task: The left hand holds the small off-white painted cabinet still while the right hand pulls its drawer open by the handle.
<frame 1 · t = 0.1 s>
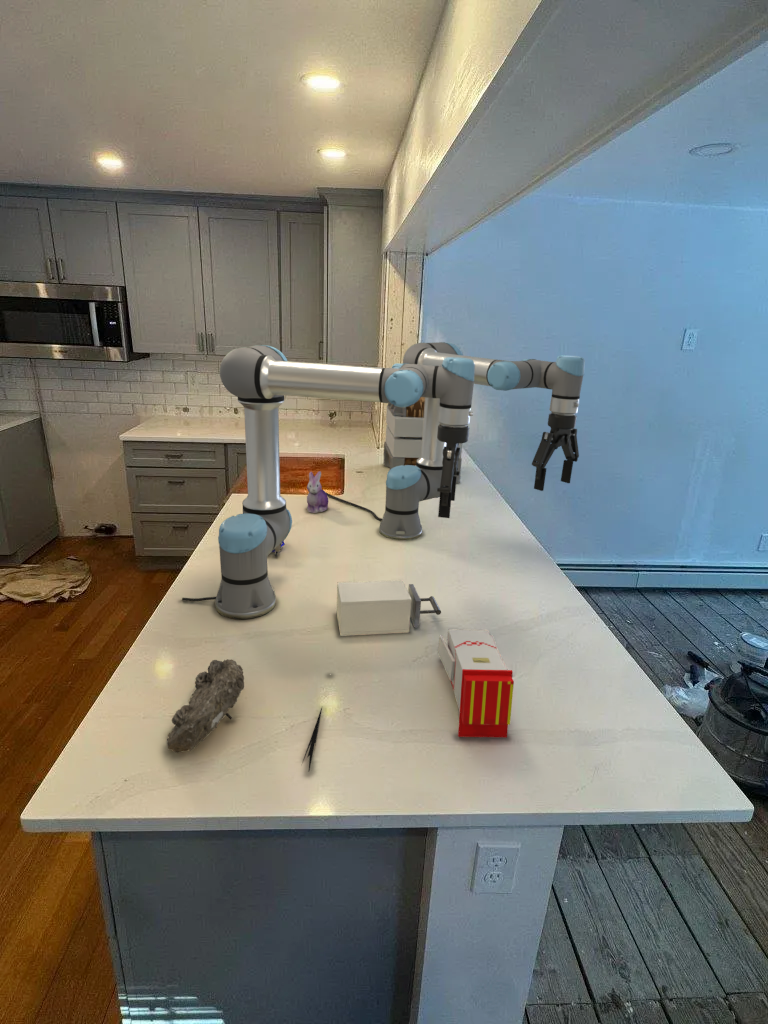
left hand: (446, 508, 143), 28 cm above the counter, tool pointing down, fingers open, 13 cm apart
right hand: (552, 485, 166), 28 cm above the counter, tool pointing down, fingers open, 13 cm apart
figurine character: (274, 549, 182), on the counter
toy: (469, 691, 119), on the counter
fossil: (212, 717, 108), on the counter
figurine: (317, 509, 220), on the counter
cabinet: (372, 623, 143), on the counter
transformer: (419, 473, 275), on the counter
feather: (319, 719, 109), on the counter
drawer: (396, 606, 142), point 5 cm above the counter, slide at 1.4 cm
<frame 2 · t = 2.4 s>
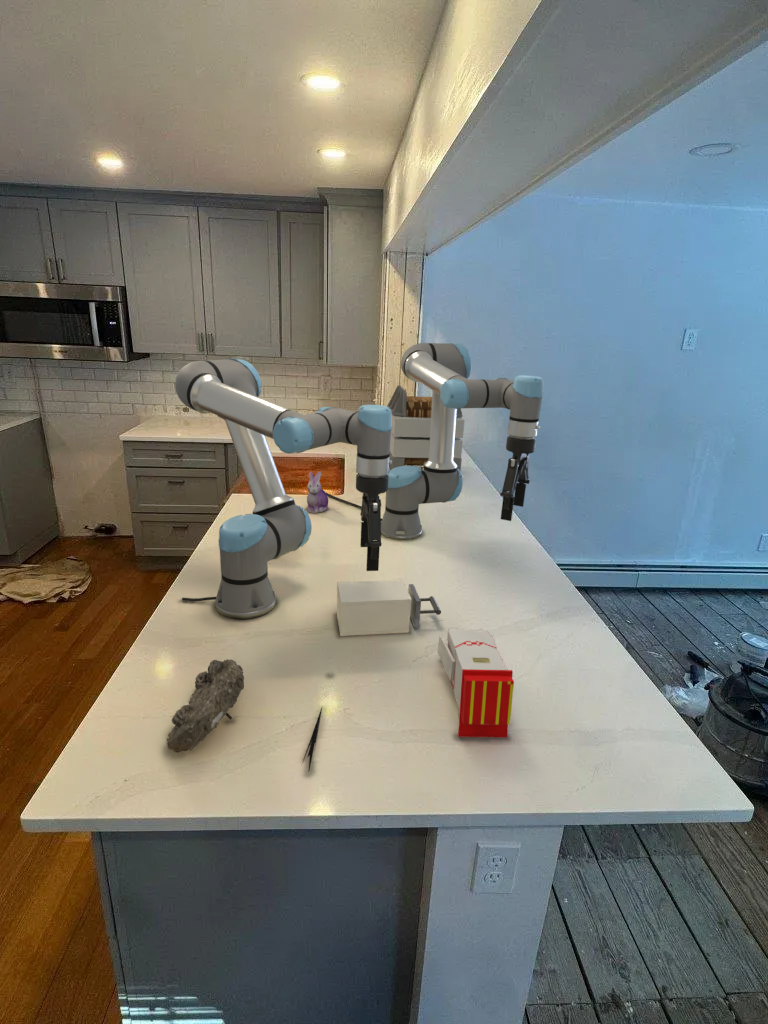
left hand: (368, 558, 137), 18 cm above the counter, tool pointing down, fingers open, 13 cm apart
right hand: (512, 512, 156), 23 cm above the counter, tool pointing down, fingers open, 13 cm apart
nothing on the counter moved.
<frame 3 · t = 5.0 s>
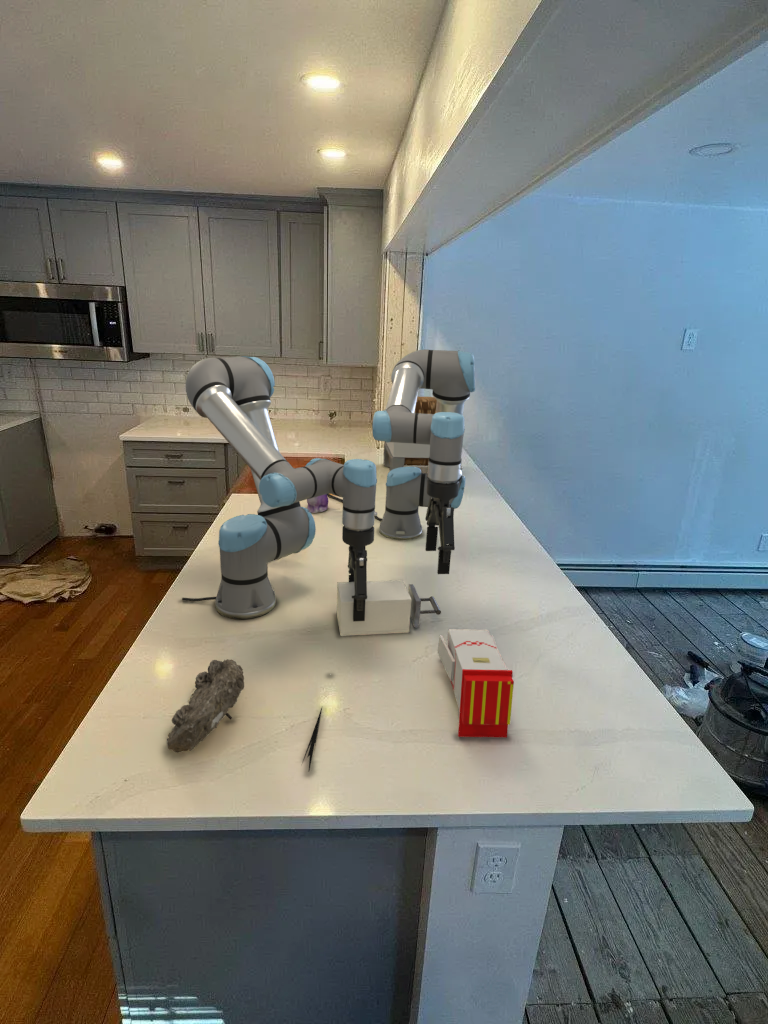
left hand: (356, 608, 140), 4 cm above the counter, tool pointing down, fingers closed on cabinet, 10 cm apart
right hand: (436, 561, 141), 16 cm above the counter, tool pointing down, fingers open, 13 cm apart
cabinet: (372, 623, 143), on the counter, touching left hand
everything else where it was.
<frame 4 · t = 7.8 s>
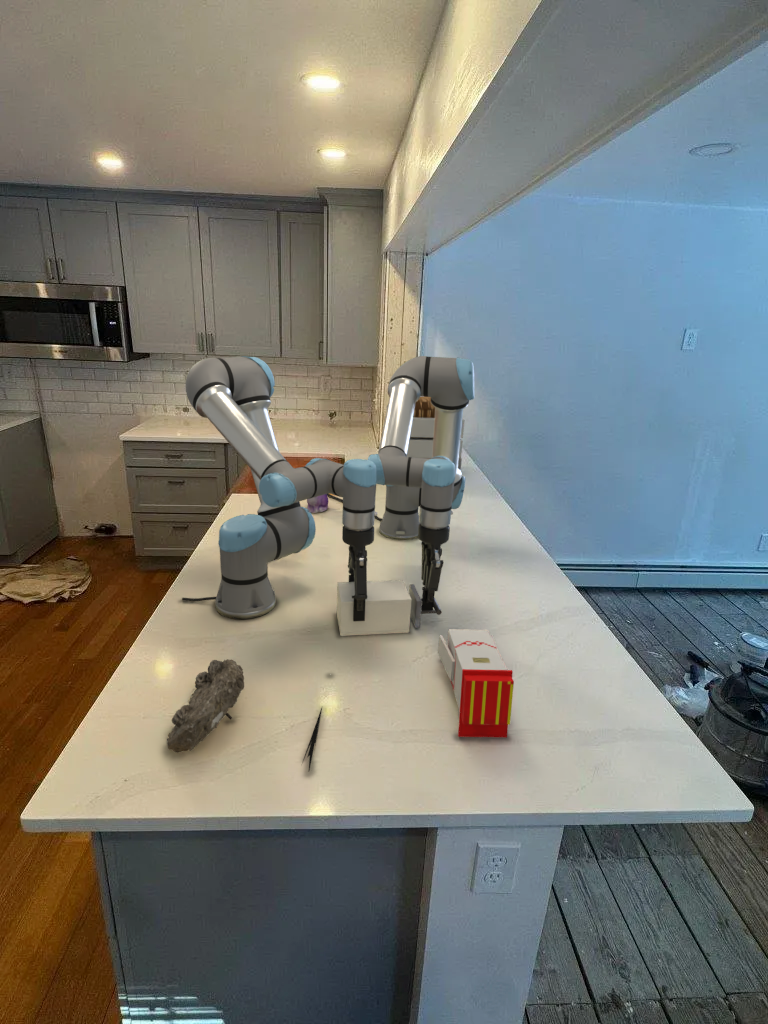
left hand: (356, 608, 140), 4 cm above the counter, tool pointing down, fingers closed on cabinet, 10 cm apart
right hand: (427, 610, 144), 3 cm above the counter, tool pointing down, fingers closed
cabinet: (372, 623, 143), on the counter, touching left hand
drawer: (397, 606, 142), point 5 cm above the counter, slide at 1.6 cm, touching right hand
everything else where it was.
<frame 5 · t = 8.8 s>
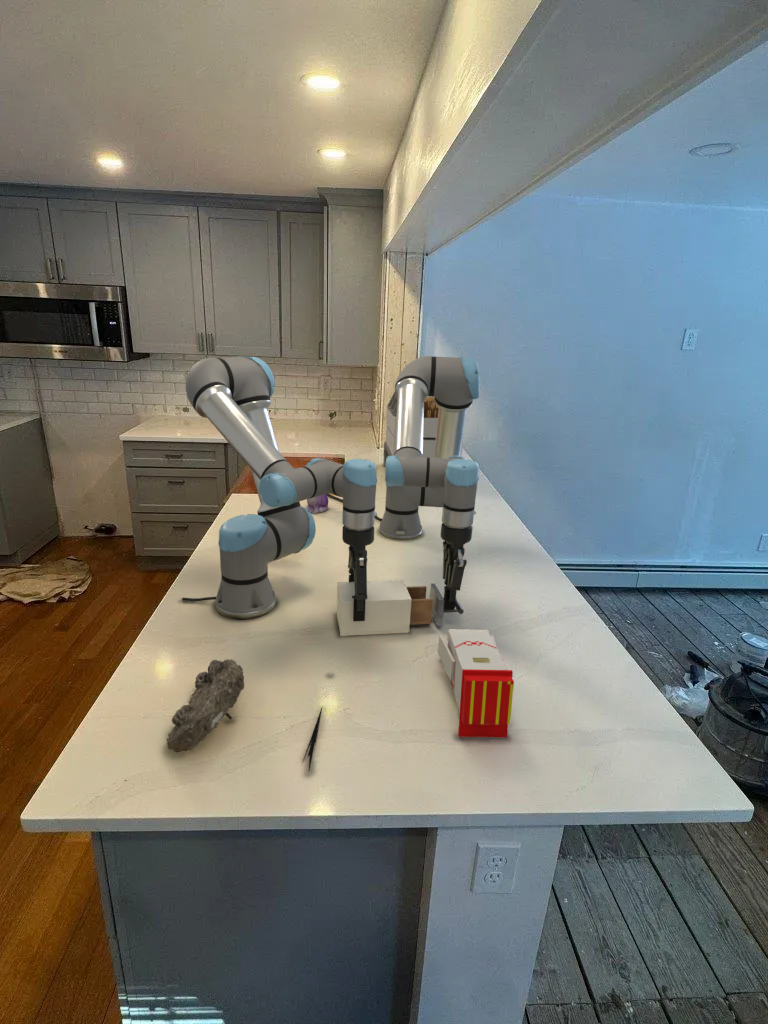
left hand: (356, 608, 140), 4 cm above the counter, tool pointing down, fingers closed on cabinet, 10 cm apart
right hand: (448, 609, 145), 3 cm above the counter, tool pointing down, fingers closed
cabinet: (372, 623, 143), on the counter, touching left hand
drawer: (419, 605, 143), point 5 cm above the counter, slide at 7.2 cm, touching right hand
everything else where it was.
when the left hand's fingers open (4 cm above the counter, at t = 10.8 s): cabinet stays where it is, on the counter.
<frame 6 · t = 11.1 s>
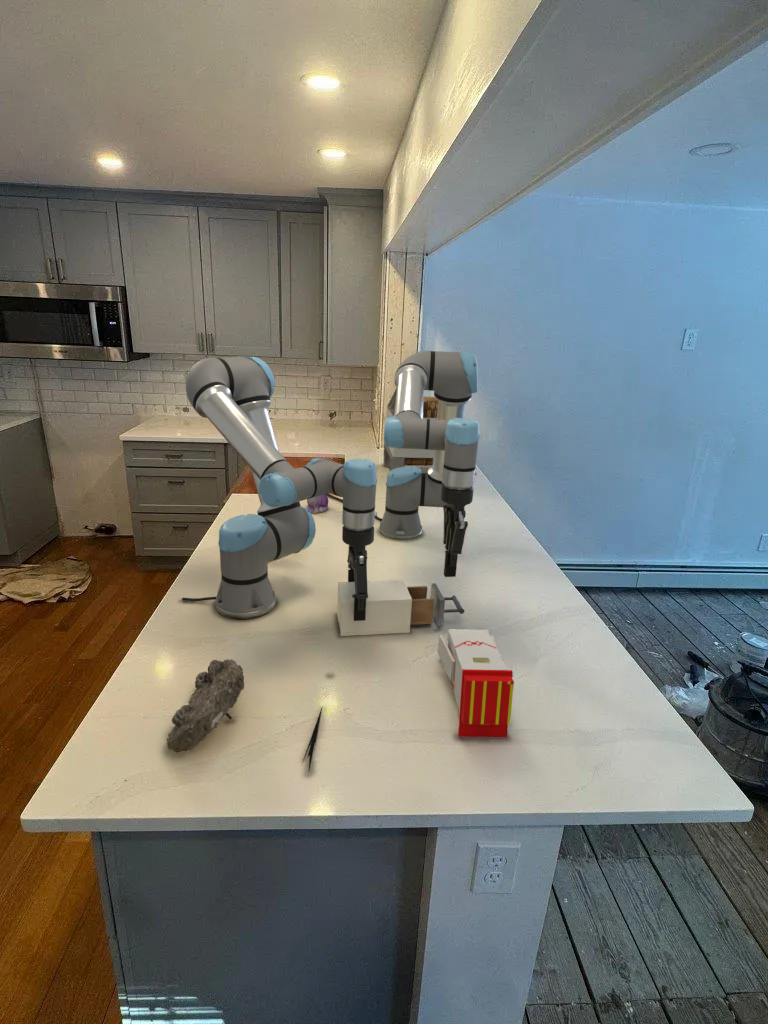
left hand: (356, 605, 140), 5 cm above the counter, tool pointing down, fingers open, 13 cm apart
right hand: (449, 575, 142), 13 cm above the counter, tool pointing down, fingers closed
cabinet: (372, 623, 143), on the counter
drawer: (419, 605, 143), point 5 cm above the counter, slide at 7.3 cm
everything else where it was.
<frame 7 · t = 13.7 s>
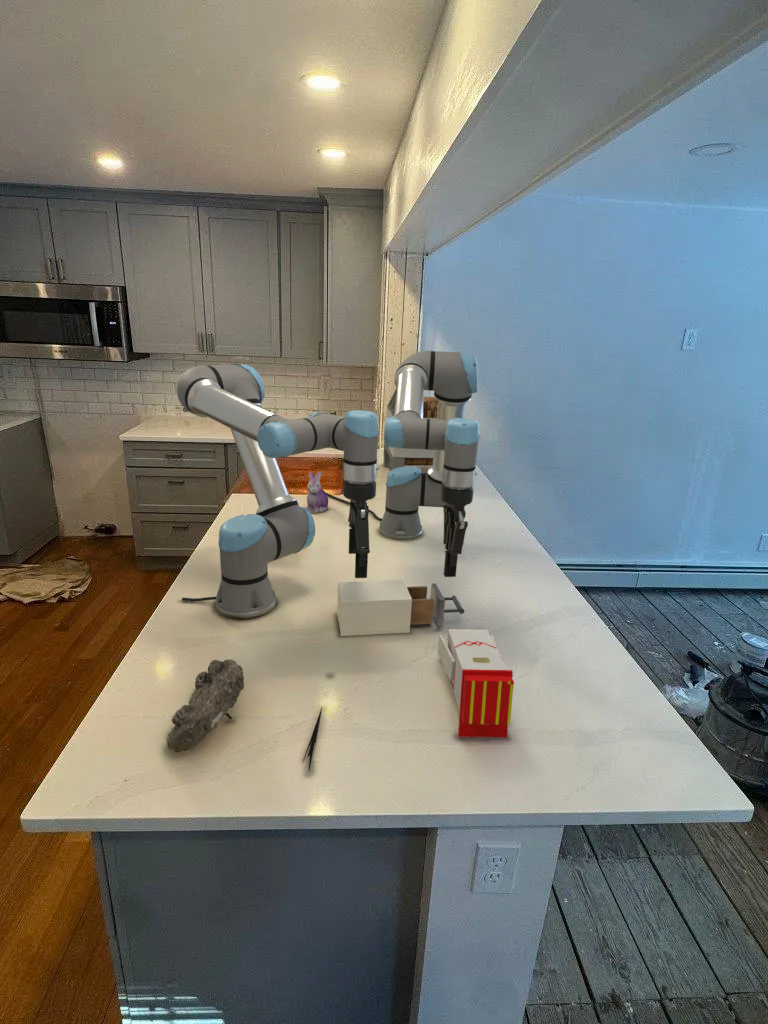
left hand: (357, 564, 136), 16 cm above the counter, tool pointing down, fingers open, 13 cm apart
right hand: (449, 575, 142), 13 cm above the counter, tool pointing down, fingers closed
nothing on the counter moved.
at the end: drawer slide at 7.3 cm; cabinet tilted 0°; cabinet never tilted more than 1° during the clip; cabinet moved 0.2 cm from its start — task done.
